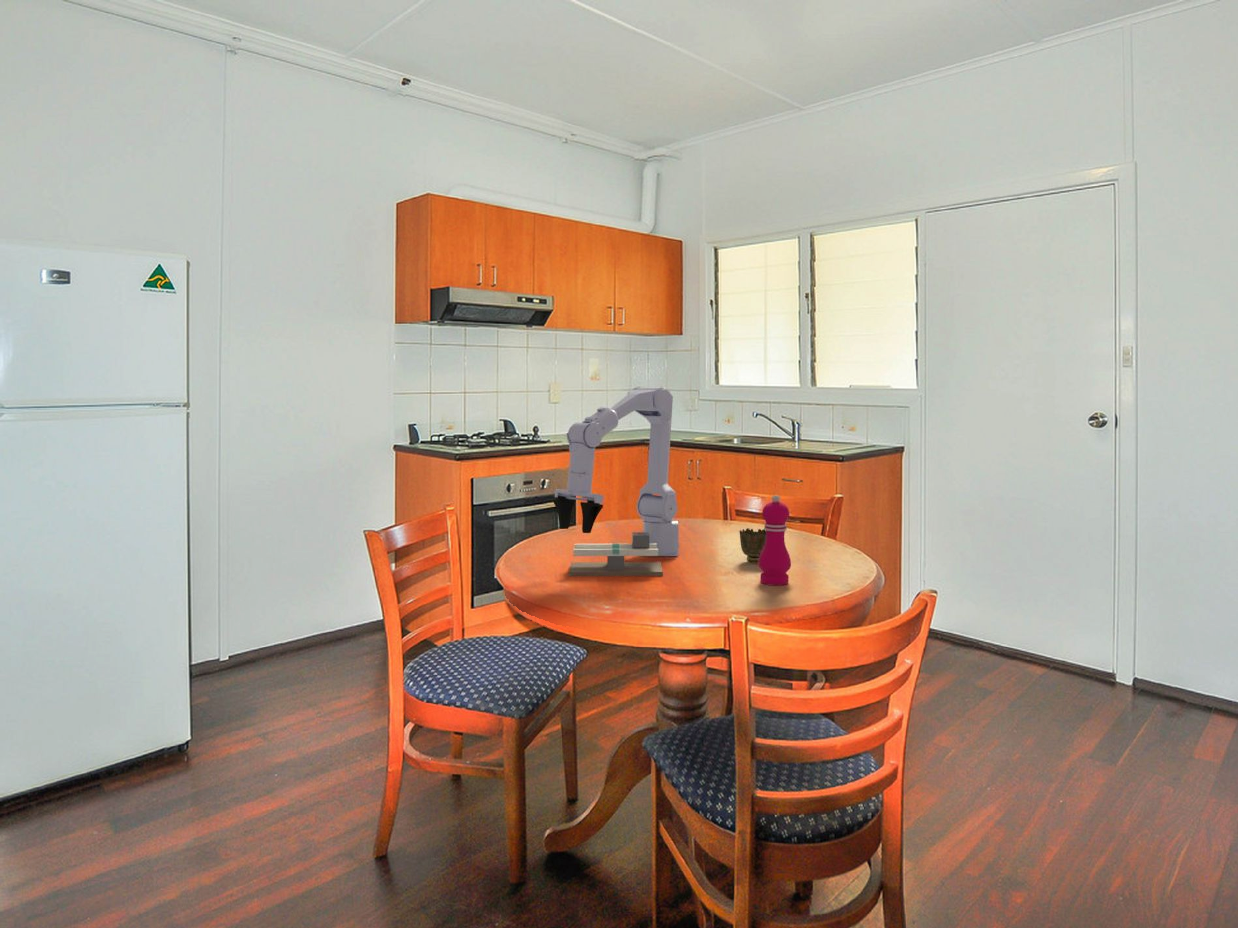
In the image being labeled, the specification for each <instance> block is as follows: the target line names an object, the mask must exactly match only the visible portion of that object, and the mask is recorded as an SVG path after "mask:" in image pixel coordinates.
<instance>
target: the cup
mask: <svg viewBox="0 0 1238 928" xmlns="http://www.w3.org/2000/svg"><path fill="white" fill-rule="evenodd" d="M739 539H740V541H739V542H740V547H741V551H742V553H743V554H744V555H745V556H746V561H747V562H748V563H751V564H757V563H758V564H759V557H760V554H761V552H762V550H763V548H764V546H765V542H766V530H765V529H764V528H763V529H761V528H758V529H757V530H756V531H754V528H751V529H750V528H748V527H746V529H744V528H743V529H742V530H741V529H740V530H739Z"/></svg>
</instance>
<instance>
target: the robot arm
mask: <svg viewBox="0 0 1238 928" xmlns="http://www.w3.org/2000/svg"><path fill="white" fill-rule="evenodd" d="M673 399H674V396H673V395H672V393H671V392H670V390H669V389H668V388H667V387H665V386H664V387H663V386H662V387H661V386H660V387H640V386H635V387H633V388H632V389H631V390H628V392H627V395H625V396H624V397H623V398H622V399H620V400H619V401H618V402H616V403H615V404H614V405H612V406H611V407H610V408H609V407H602V406H601V407H598V408H596V412H595V413H593V414H592V415H590V416H586V417H585V418H584V420H583V421H582V422H575V423H573V424H572V425H570V427H569V429H568V431H567V432H566V440H567V443H568V451H569V453H570V454H569V455H570V456H569V465H568V477H567V485H566V486H567V487H566V489H560V488H555V489H554V498H553V499H552V500H553V501H552V502H553V505H554V506H555V509H556V512H557V515H558V516H557V517H558V522H559V528H560V530H568V529H569V528H570V523H571V516H572V511H573V509H574V506H575V503H576V502H577V501H581V502H580V508H581V515H582V517H581V518H582V521H581V522H582V524H581V530H582V532H581V533H583V534H591V533H592V530H593V527H594V524H595V522H596V519H597V517H598V515H599V514H600V512H601V510H602V509H603V508H604V504H603V503H604V494H598V493H592V486H593V478H594V477H593V476H594V475H593V474H594V465H595V456H596V455H595V454H596V447H598V446H600V444H601V443H602V440H603V438H604V437H605V436H606V435H608V434H609V433H611V432H612V431H613V430H615V429H616V428H617V427H618V425H619V420H621V419H623V418H624V417H626V416H628V415H631V413H633V412H636V413H637V414H638V415H640V416H642V417H643V418H645V419H646V420H647V422H648V423H649V424H650V431H649V446H648V447H649V449H648V462H647V463H648V464H647V466H648V467H647V481H646V484H644V486H643V487H641V488H640V489H639V496H638V499H637V502H636V511H637V513H638V515H639V516H640V520H641V521H642V525H643V527H642V532H649V543H657V549H658V556H657V557H679V556H680V555H679V548H680V541H679V540H680V539H679V534H680V533H679V521H678V520H674V518H675V517H676V515H677V513H678V503H677V495H676V494H677V492H676V491H675V490H674V489H673V488H672V486H670V485H669V470H670V469H669V468H670V451H671V435H672V434H671V433H672V419H673V418H672V417H673V416H672V415H673V401H674V400H673Z"/></svg>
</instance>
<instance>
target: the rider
mask: <svg viewBox="0 0 1238 928" xmlns="http://www.w3.org/2000/svg"><path fill="white" fill-rule="evenodd" d="M631 539H632V540H631V542H632V543H631V544H632V549H649V532H643V531H640V532H636V531H634V532H632V533H631Z"/></svg>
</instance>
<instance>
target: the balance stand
mask: <svg viewBox="0 0 1238 928" xmlns="http://www.w3.org/2000/svg"><path fill="white" fill-rule="evenodd" d="M572 550H573V551H572V553H573V557H606V558H607V560H606V561H607V562H606V561H605V562H604V561H601V562H600V561H599V562H594V561H593V562H590V561H588V562H587V561H585V562H584V561H583V562H581V561H579V562H577V561H576V562H570V565H569V571H568V577H664V571H663V568H662V564H661V561H625V557H659V556H658V549H657V543H649V549H632V543H619V542H612V543H574V548H573V549H572Z"/></svg>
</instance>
